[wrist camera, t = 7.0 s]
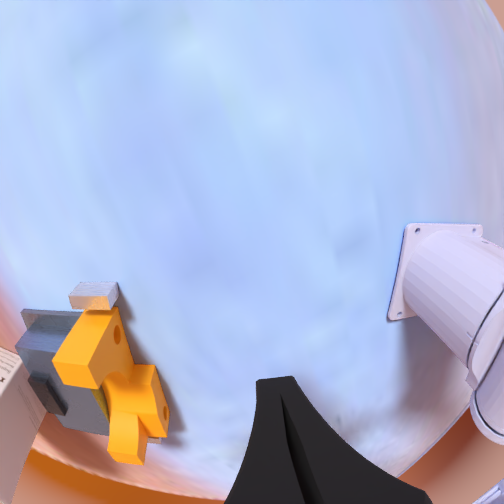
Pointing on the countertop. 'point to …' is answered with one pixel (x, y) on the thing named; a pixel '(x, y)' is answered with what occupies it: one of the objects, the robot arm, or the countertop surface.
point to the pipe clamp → (115, 382)
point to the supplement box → (16, 421)
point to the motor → (45, 348)
